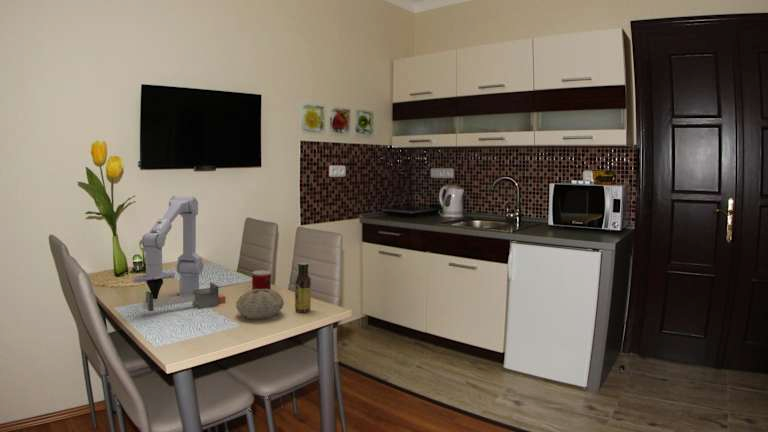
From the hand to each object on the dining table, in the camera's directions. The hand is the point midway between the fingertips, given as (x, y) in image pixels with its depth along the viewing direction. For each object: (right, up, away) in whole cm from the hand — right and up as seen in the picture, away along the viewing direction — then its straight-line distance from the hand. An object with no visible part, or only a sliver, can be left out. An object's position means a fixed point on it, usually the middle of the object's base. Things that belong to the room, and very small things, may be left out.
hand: (154, 298), depth 185 cm
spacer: (+18, -3, +17) cm, 25 cm away
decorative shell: (+40, -7, +2) cm, 41 cm away
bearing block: (+15, -5, +13) cm, 20 cm away
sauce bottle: (+55, -7, +9) cm, 57 cm away
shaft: (+6, -4, +5) cm, 8 cm away
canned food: (+34, -4, +28) cm, 44 cm away
